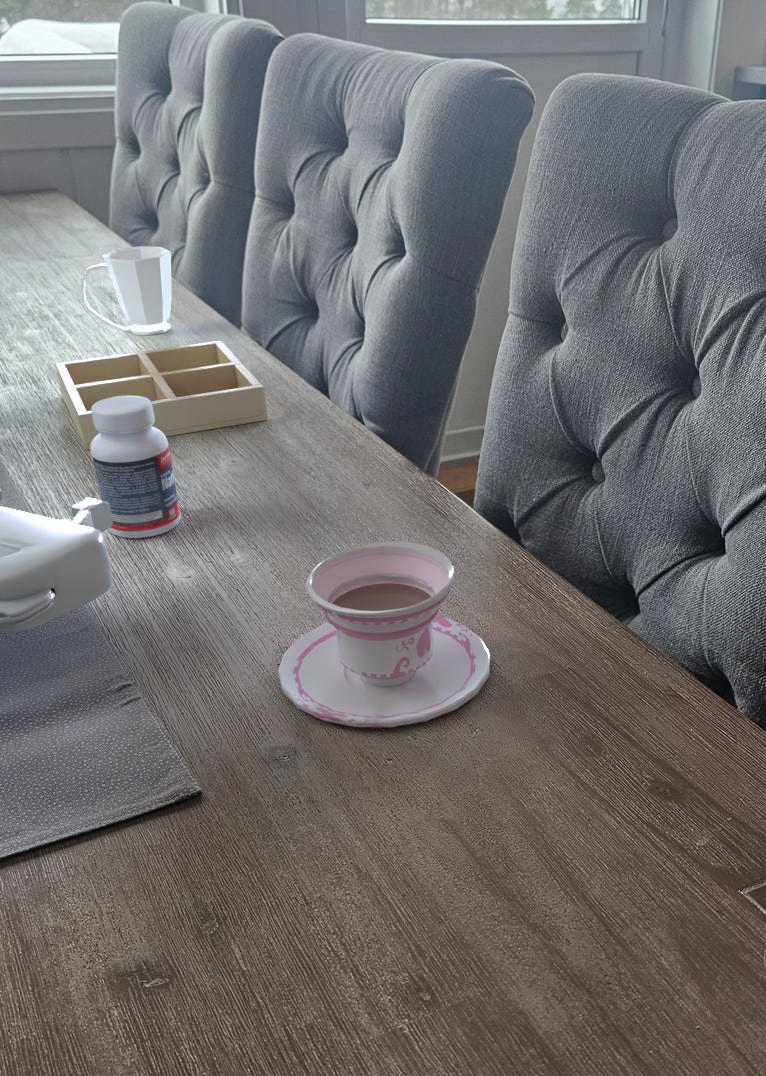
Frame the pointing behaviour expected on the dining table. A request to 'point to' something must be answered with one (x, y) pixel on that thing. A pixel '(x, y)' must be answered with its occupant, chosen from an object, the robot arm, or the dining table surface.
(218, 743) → the dining table surface
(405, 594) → the teacup
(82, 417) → the divided tray
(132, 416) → the pill bottle
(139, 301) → the cup
